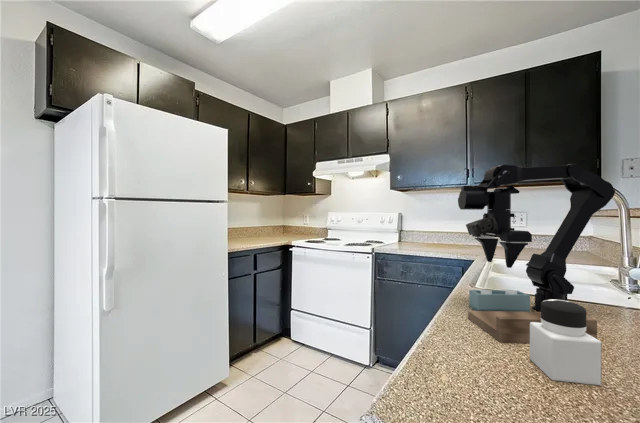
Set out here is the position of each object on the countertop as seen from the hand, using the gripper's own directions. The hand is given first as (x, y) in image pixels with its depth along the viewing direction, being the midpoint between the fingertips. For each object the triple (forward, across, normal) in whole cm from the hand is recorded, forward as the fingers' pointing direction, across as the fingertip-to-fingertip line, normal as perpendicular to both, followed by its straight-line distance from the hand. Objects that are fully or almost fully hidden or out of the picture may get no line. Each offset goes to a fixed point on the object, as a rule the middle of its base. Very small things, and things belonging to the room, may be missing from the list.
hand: (498, 264), depth 82 cm
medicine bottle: (+13, +32, -8) cm, 36 cm away
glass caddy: (+13, 0, 0) cm, 13 cm away
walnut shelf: (+13, +14, -2) cm, 19 cm away
